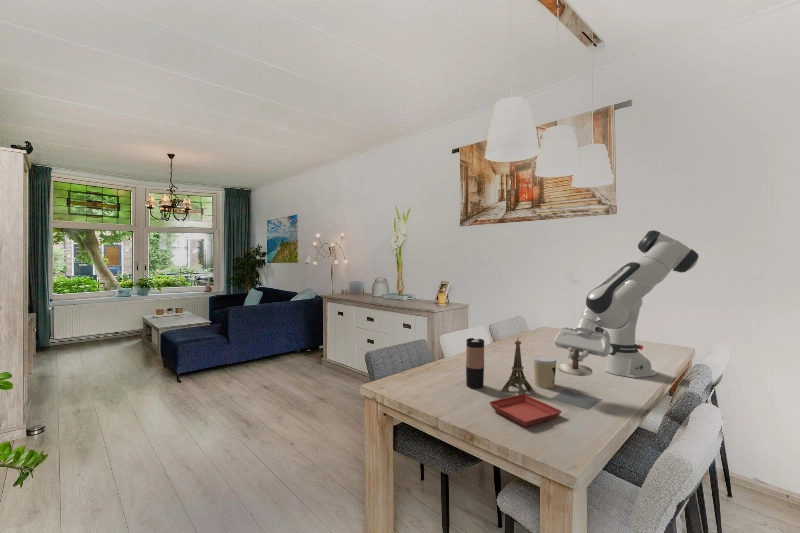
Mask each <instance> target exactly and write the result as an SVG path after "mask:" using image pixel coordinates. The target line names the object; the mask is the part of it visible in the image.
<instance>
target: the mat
mask: <svg viewBox="0 0 800 533" xmlns="http://www.w3.org/2000/svg"><path fill="white" fill-rule="evenodd" d="M550 399H551V400H555V401H557V402H561V403H563V404H568V405H571V406H575V407H577V408H581V409H584V410H586V411H587V410H590V409H592V407H594V406H595V405H597V404H598V403H600V402H601V401H602V400H603V399H602V398H598V397H595V396H591V395H588V394H584V393H580V392H576V391H573V390H570V389H565V390H564V391H562V392H560V393H558V394H556V395H554V396H552V397H551V398H550Z"/></svg>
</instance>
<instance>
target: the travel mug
mask: <svg viewBox="0 0 800 533" xmlns="http://www.w3.org/2000/svg"><path fill="white" fill-rule="evenodd" d="M465 346H466V349H465V351H466V352H465V353H466V354H465V378H466V379H465V381H466V382H465V383H466V385H465V386H466V387H467V388H469V389H473V390H478V389H479V390H480V389H483V387H484V377H485V339H482V338H478V339H476V338H474V337H469V338H467V339H466V344H465Z"/></svg>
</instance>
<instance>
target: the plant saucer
mask: <svg viewBox="0 0 800 533" xmlns="http://www.w3.org/2000/svg"><path fill="white" fill-rule="evenodd" d="M488 403H489V405H490V406H491V408H493V410H494V411H495V412H497V413H498V414H500V415H502V416H504V417H506V418H508V419H510V420H511V421H513V422H516V423H517V424H519V425H521V426H523V427H525V428H526V427H530V426H533V425H536V424H540V423H543V422H546V421H548V420H552V419H555V418H557V417H558V416H560V414H562V412H563V411H562V410H560V409H558V408H556V407H554V406H551V405H550V404H548V403H544V402H542V401H540V400H538V399H535V398H533V397H531V396H529V395H527V394H526V395H524V394H521V395H513V396H508V397H505V398H500V399H495V400H492V401H489V402H488Z"/></svg>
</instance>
